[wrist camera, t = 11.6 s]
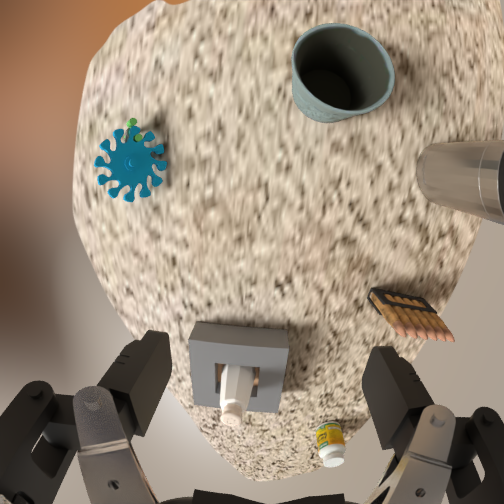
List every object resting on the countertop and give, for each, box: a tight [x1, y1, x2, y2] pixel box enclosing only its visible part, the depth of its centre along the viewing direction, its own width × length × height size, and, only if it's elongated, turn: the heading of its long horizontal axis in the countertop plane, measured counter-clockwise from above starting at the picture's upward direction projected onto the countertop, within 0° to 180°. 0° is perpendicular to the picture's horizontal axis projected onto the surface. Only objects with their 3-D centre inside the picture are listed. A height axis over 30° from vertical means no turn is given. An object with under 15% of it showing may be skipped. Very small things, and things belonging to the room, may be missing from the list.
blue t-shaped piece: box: [94, 118, 167, 202], centre depth 33 cm, size 11×6×10 cm
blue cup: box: [292, 23, 395, 123], centre depth 26 cm, size 10×10×12 cm
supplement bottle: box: [316, 421, 346, 467], centre depth 43 cm, size 5×5×10 cm
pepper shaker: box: [220, 364, 256, 426], centre depth 36 cm, size 5×5×11 cm
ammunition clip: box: [367, 288, 455, 342], centre depth 33 cm, size 11×2×12 cm, turn 78°
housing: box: [188, 322, 289, 413], centre depth 41 cm, size 14×14×5 cm
